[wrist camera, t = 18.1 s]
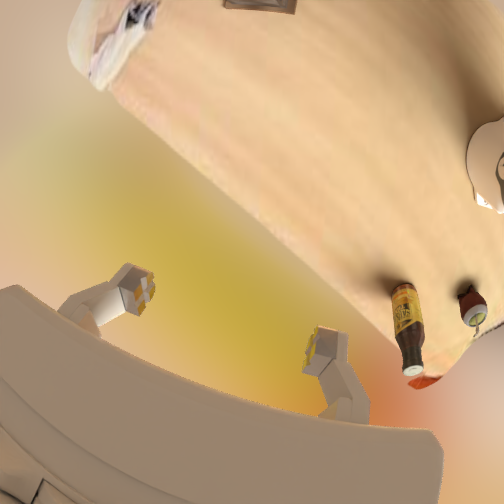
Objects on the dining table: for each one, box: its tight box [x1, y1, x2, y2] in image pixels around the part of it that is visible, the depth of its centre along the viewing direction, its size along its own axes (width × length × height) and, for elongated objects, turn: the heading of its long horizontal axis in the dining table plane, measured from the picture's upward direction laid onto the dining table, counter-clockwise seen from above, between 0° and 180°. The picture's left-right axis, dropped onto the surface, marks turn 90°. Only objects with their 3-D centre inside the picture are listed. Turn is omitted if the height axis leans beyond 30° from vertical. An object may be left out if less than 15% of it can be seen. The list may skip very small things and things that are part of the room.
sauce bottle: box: [392, 284, 425, 376], centre depth 46 cm, size 6×6×20 cm
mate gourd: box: [458, 285, 488, 337], centre depth 43 cm, size 8×8×15 cm
